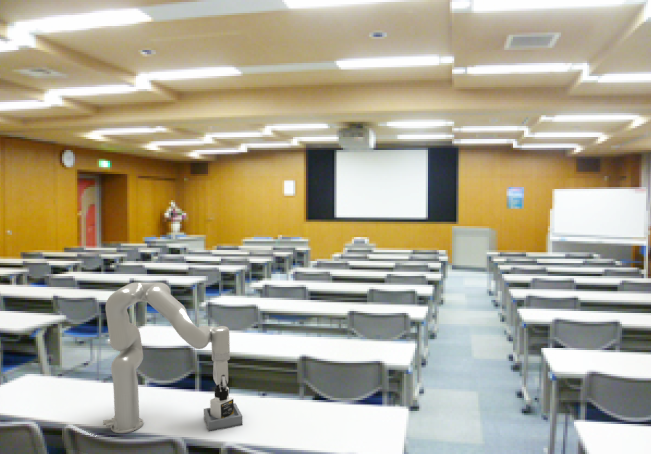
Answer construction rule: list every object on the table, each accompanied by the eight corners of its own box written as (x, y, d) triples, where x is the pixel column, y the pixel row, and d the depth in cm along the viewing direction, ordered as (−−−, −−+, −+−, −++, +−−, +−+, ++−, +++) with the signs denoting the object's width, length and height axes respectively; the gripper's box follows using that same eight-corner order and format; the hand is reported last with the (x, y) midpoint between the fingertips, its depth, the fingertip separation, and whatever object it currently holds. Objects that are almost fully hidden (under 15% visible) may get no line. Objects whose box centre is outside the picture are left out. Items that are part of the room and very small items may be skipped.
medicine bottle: (221, 420, 200) (220, 392, 199) (210, 415, 204) (209, 388, 204) (234, 414, 206) (233, 387, 205) (223, 410, 210) (222, 383, 209)
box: (208, 431, 196) (208, 422, 196) (203, 417, 209) (203, 408, 209) (242, 425, 201) (242, 415, 201) (235, 411, 214) (235, 403, 214)
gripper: (208, 351, 210) (209, 391, 211) (215, 363, 194) (216, 406, 195) (225, 349, 213) (226, 388, 214) (233, 360, 197) (234, 403, 198)
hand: (221, 396), depth 205 cm, fingers closed on medicine bottle, 6 cm apart
